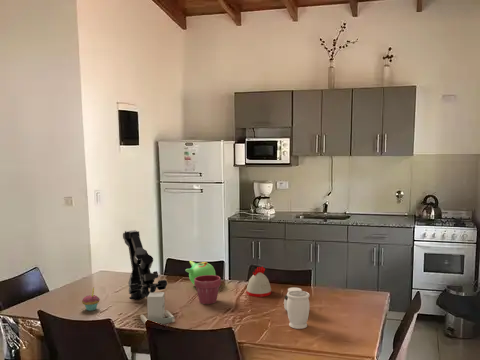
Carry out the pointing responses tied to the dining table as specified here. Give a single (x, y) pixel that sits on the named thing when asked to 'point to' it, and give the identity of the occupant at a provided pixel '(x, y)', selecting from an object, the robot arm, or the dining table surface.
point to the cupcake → (90, 301)
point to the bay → (163, 320)
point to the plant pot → (207, 288)
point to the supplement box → (156, 305)
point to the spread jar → (287, 297)
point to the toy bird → (200, 270)
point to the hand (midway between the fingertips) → (151, 301)
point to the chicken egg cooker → (259, 284)
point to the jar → (298, 309)
